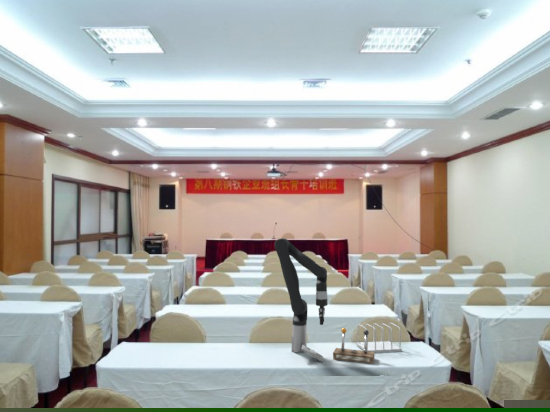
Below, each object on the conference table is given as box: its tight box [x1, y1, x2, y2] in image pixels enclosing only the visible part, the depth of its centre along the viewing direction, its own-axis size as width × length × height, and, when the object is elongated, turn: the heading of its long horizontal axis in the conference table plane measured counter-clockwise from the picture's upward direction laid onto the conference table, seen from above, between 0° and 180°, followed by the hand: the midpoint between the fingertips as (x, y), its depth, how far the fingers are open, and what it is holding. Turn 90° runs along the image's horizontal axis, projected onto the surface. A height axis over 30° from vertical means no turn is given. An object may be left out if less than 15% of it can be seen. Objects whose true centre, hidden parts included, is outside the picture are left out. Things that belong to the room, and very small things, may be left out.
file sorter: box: [355, 322, 403, 354], centre depth 275 cm, size 25×17×16 cm
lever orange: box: [341, 327, 347, 351], centre depth 259 cm, size 3×3×14 cm
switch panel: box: [332, 347, 375, 365], centre depth 253 cm, size 24×10×5 cm, turn 71°
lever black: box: [363, 329, 370, 353], centre depth 254 cm, size 3×3×14 cm
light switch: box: [302, 345, 324, 363], centre depth 252 cm, size 8×6×14 cm
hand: (322, 323), depth 264 cm, fingers open, 8 cm apart
